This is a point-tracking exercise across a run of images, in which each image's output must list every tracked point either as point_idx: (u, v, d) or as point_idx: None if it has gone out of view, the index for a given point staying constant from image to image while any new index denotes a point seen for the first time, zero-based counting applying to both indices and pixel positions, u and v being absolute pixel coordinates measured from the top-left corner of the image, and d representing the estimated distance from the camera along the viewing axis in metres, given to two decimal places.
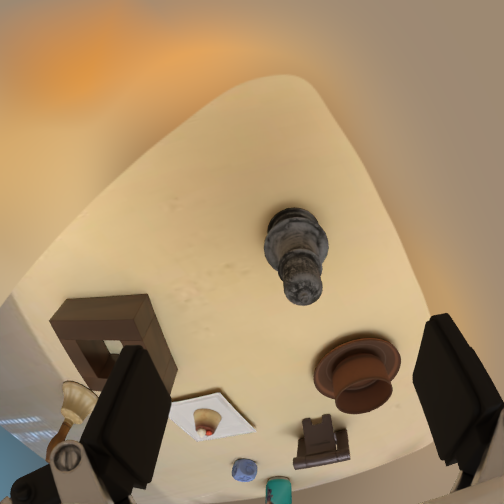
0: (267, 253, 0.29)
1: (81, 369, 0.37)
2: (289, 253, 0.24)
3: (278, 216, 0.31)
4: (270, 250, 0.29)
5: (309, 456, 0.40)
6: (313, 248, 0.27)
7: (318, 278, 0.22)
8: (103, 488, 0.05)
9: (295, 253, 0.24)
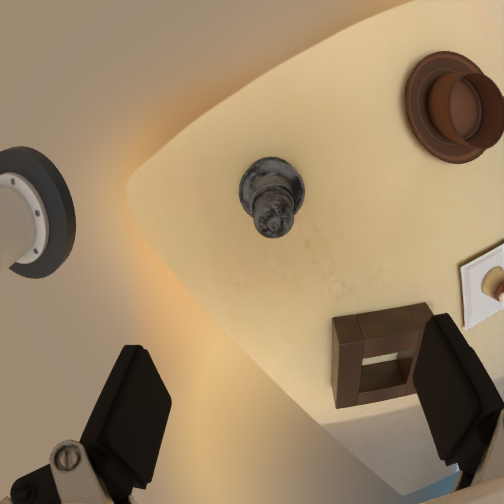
0: None
1: (393, 395, 0.38)
2: (254, 217, 0.25)
3: None
4: None
5: None
6: (262, 183, 0.26)
7: (260, 205, 0.21)
8: (104, 488, 0.05)
9: (253, 213, 0.25)
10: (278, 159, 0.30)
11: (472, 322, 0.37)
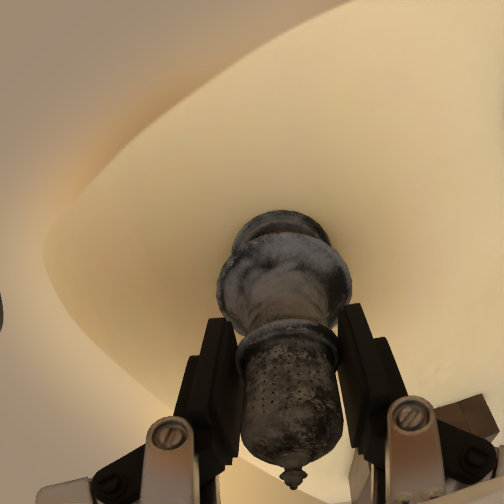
0: None
1: None
2: None
3: None
4: None
5: None
6: (265, 294, 0.11)
7: (259, 414, 0.07)
8: (196, 480, 0.06)
9: (243, 374, 0.10)
10: (297, 215, 0.15)
11: None
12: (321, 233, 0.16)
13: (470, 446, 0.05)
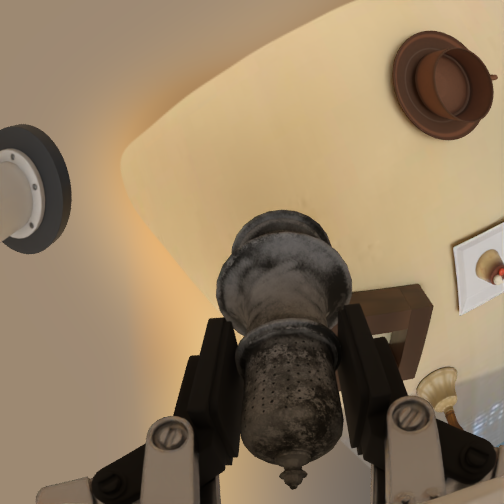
0: None
1: None
2: None
3: None
4: None
5: None
6: (265, 293, 0.11)
7: (259, 413, 0.07)
8: (196, 480, 0.06)
9: (242, 373, 0.10)
10: (297, 215, 0.15)
11: (467, 307, 0.37)
12: (320, 233, 0.16)
13: (470, 446, 0.05)
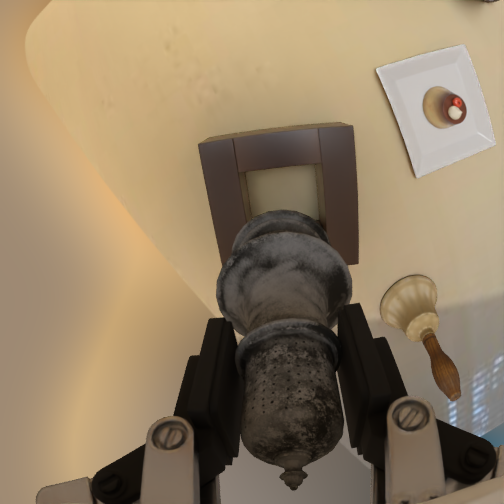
0: None
1: None
2: None
3: None
4: None
5: None
6: (265, 293, 0.11)
7: (259, 414, 0.07)
8: (196, 480, 0.06)
9: (243, 374, 0.10)
10: (297, 215, 0.15)
11: (425, 167, 0.29)
12: (321, 233, 0.16)
13: (470, 446, 0.05)
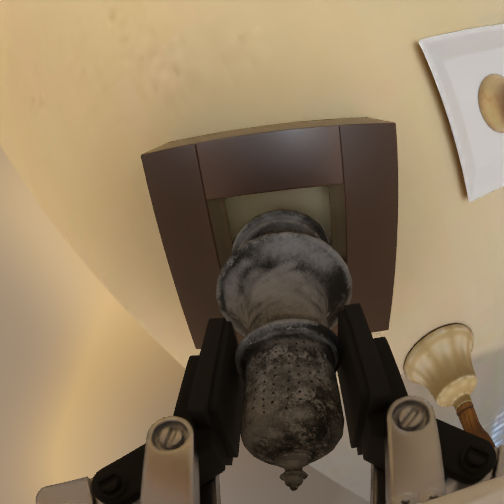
0: None
1: None
2: None
3: None
4: None
5: None
6: (265, 294, 0.11)
7: (259, 414, 0.07)
8: (196, 480, 0.06)
9: (243, 374, 0.10)
10: (297, 215, 0.15)
11: (481, 187, 0.18)
12: (321, 233, 0.16)
13: (470, 446, 0.05)
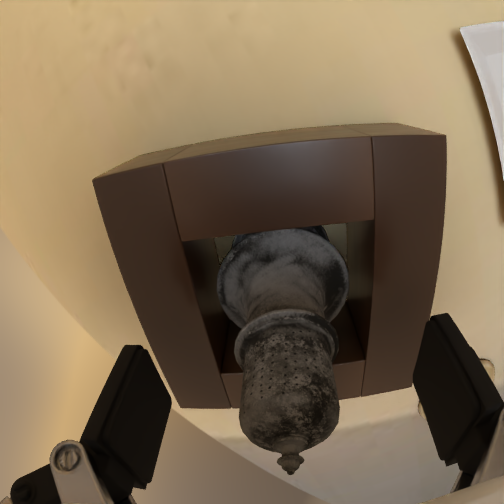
0: None
1: None
2: None
3: None
4: None
5: None
6: (264, 286, 0.12)
7: (257, 399, 0.07)
8: (104, 488, 0.05)
9: (242, 364, 0.11)
10: None
11: None
12: (319, 229, 0.16)
13: None
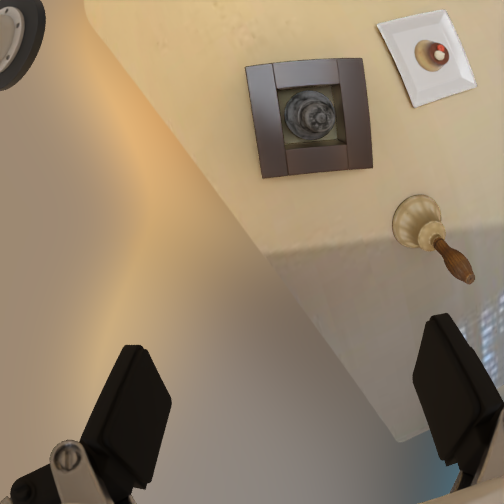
0: (314, 137, 0.34)
1: (335, 164, 0.34)
2: (301, 124, 0.30)
3: None
4: (311, 135, 0.34)
5: None
6: None
7: (310, 106, 0.27)
8: (103, 488, 0.05)
9: (300, 120, 0.30)
10: None
11: (420, 100, 0.33)
12: None
13: None
